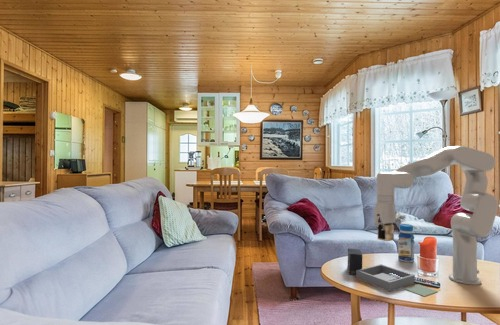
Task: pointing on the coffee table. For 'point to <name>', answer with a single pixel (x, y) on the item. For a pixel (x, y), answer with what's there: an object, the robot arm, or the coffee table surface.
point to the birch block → (388, 232)
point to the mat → (421, 290)
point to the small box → (354, 261)
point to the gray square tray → (385, 277)
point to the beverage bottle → (406, 243)
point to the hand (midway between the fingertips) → (385, 237)
